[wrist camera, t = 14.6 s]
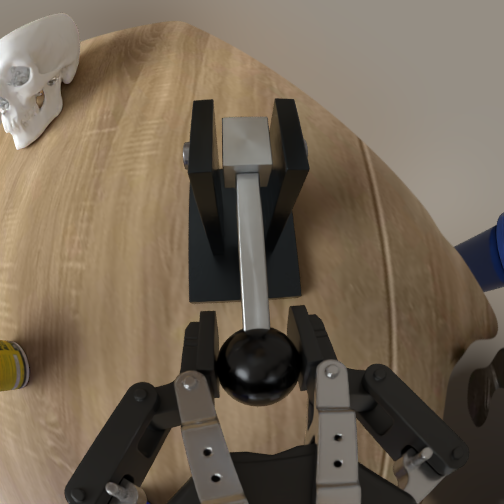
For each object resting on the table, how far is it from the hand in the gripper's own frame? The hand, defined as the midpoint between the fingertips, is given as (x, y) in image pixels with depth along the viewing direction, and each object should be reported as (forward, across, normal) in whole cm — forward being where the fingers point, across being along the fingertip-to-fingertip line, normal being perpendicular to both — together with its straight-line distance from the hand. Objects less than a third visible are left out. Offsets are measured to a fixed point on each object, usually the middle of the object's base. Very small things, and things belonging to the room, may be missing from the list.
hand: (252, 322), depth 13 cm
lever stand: (+12, 0, +1) cm, 12 cm away
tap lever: (+2, 0, -2) cm, 3 cm away
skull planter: (+31, +30, -17) cm, 46 cm away
